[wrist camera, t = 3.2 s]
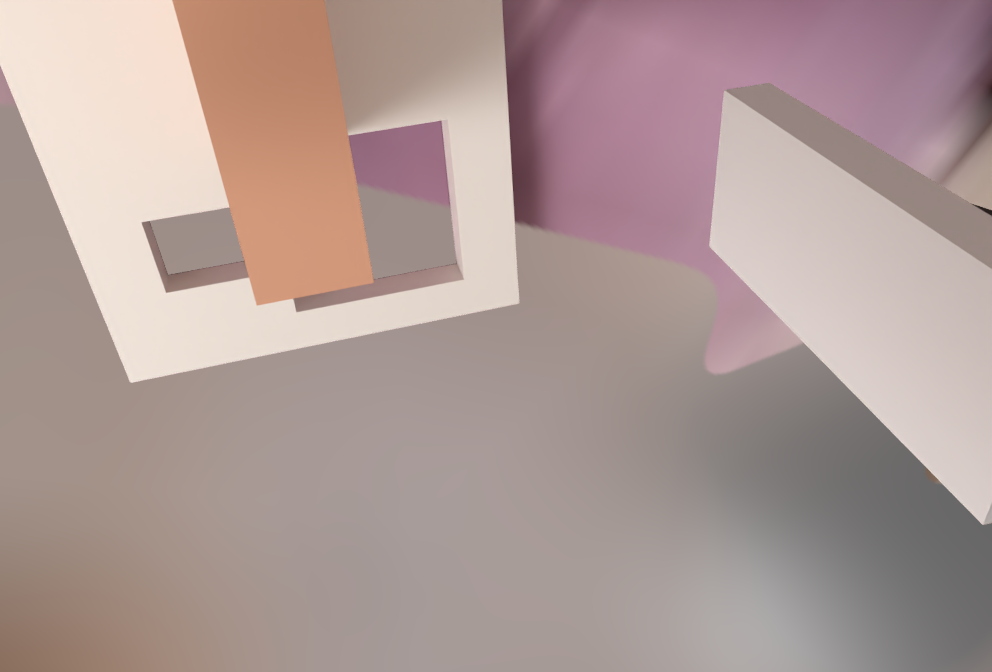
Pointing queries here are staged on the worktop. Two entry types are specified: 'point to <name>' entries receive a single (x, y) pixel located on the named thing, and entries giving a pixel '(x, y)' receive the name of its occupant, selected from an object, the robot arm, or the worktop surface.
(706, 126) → the worktop surface
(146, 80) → the keyhole plate
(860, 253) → the robot arm
